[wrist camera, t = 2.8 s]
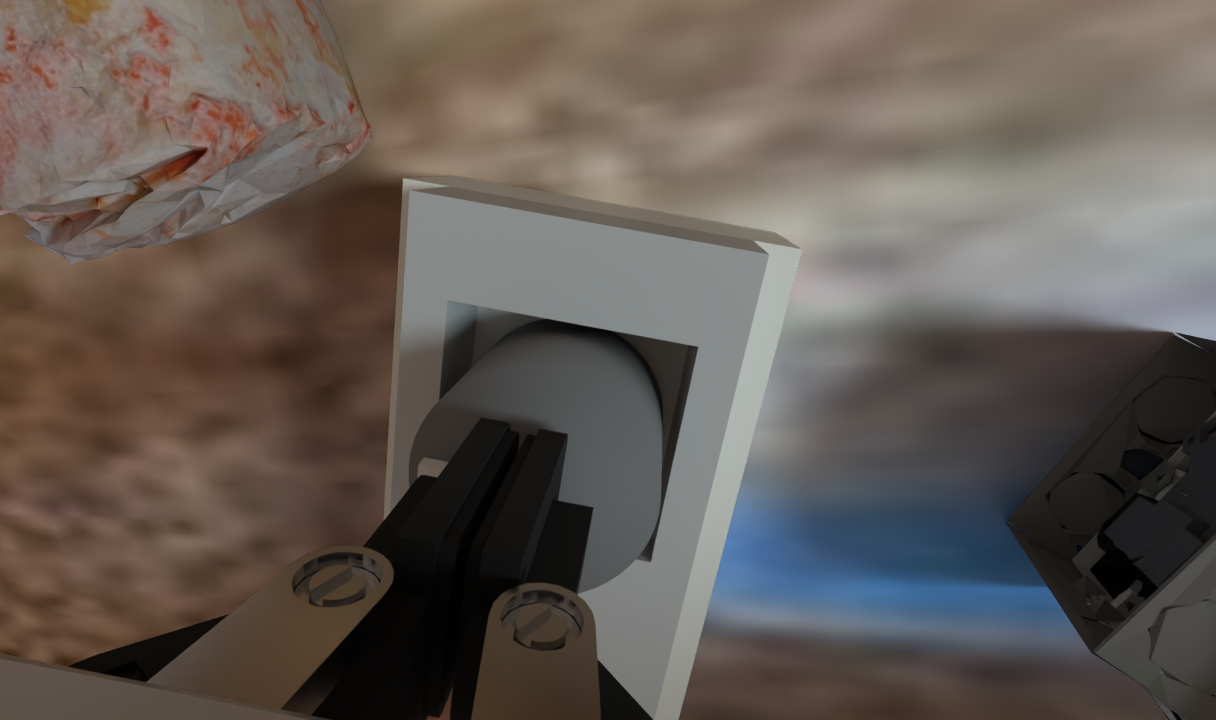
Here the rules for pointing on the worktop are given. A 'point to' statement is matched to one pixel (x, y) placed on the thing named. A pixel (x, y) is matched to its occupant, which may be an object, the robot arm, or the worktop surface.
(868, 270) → the worktop surface
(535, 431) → the knob
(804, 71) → the worktop surface
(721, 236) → the knob panel
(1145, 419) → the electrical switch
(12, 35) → the food item
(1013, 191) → the worktop surface
